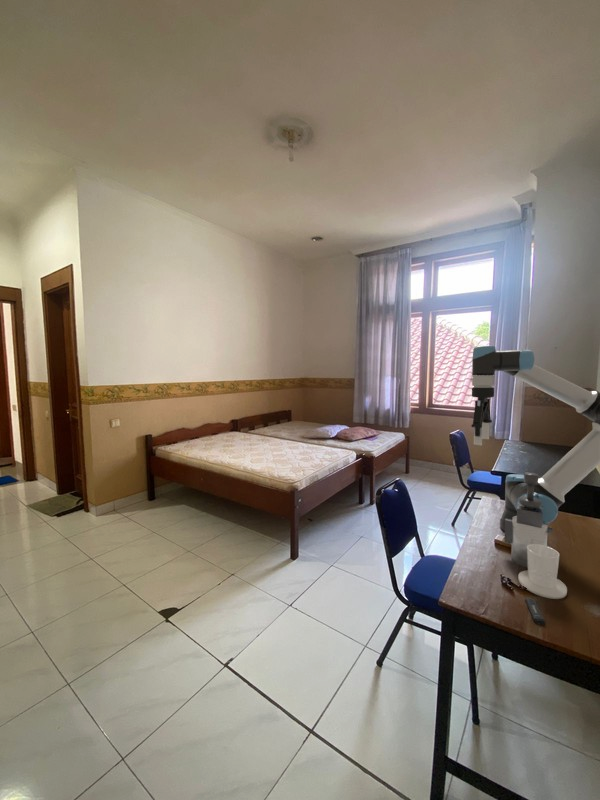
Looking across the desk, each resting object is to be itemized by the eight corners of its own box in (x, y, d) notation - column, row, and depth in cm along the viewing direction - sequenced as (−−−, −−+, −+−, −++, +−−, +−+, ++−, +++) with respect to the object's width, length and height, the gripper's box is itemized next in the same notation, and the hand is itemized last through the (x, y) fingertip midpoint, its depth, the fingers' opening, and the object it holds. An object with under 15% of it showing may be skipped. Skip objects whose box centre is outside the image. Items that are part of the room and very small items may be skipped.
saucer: (519, 569, 110) (520, 566, 109) (566, 582, 102) (566, 579, 102) (516, 588, 100) (516, 584, 100) (567, 604, 93) (567, 600, 93)
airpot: (502, 560, 115) (504, 507, 114) (505, 548, 123) (507, 498, 121) (550, 573, 107) (553, 517, 105) (551, 559, 115) (553, 506, 113)
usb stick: (524, 601, 95) (525, 596, 95) (535, 603, 94) (535, 598, 94) (533, 624, 86) (534, 618, 86) (546, 626, 85) (546, 621, 85)
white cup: (540, 572, 106) (541, 542, 105) (564, 587, 98) (566, 555, 97) (520, 576, 104) (520, 545, 103) (543, 592, 96) (544, 559, 96)
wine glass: (517, 520, 113) (519, 475, 112) (519, 514, 118) (520, 470, 117) (540, 525, 109) (542, 478, 108) (541, 518, 114) (542, 473, 113)
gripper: (479, 385, 137) (477, 435, 139) (464, 388, 118) (462, 446, 120) (499, 385, 133) (498, 437, 134) (487, 388, 114) (486, 448, 115)
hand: (481, 441), depth 127 cm, fingers open, 13 cm apart
